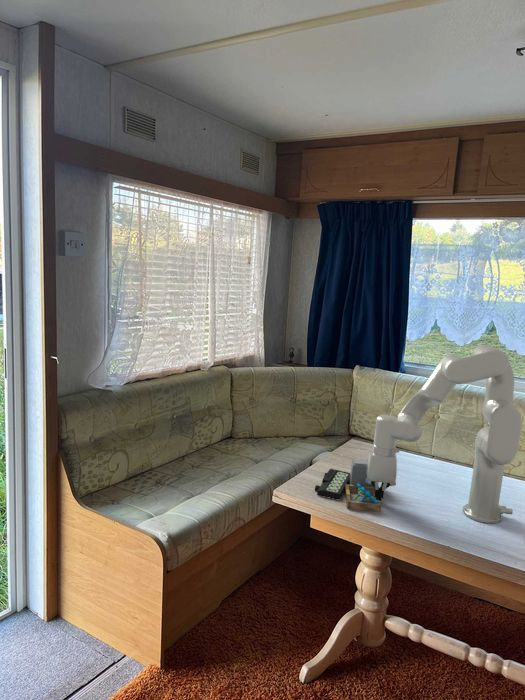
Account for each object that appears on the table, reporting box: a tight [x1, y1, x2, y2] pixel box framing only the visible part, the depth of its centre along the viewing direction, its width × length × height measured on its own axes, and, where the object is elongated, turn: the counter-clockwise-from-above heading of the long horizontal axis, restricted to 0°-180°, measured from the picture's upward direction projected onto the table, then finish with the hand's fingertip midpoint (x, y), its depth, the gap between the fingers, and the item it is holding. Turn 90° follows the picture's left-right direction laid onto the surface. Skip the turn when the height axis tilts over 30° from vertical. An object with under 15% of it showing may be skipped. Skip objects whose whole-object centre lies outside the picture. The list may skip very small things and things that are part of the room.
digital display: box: [314, 468, 350, 500], centre depth 196 cm, size 21×3×10 cm
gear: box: [353, 483, 380, 504], centre depth 182 cm, size 11×6×10 cm
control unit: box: [348, 457, 380, 487], centre depth 195 cm, size 10×7×11 cm
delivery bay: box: [344, 484, 382, 513], centre depth 185 cm, size 12×14×3 cm
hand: (378, 499), depth 184 cm, fingers closed
